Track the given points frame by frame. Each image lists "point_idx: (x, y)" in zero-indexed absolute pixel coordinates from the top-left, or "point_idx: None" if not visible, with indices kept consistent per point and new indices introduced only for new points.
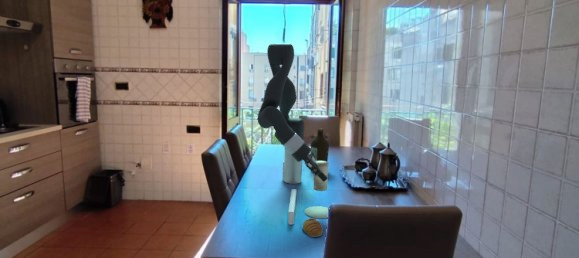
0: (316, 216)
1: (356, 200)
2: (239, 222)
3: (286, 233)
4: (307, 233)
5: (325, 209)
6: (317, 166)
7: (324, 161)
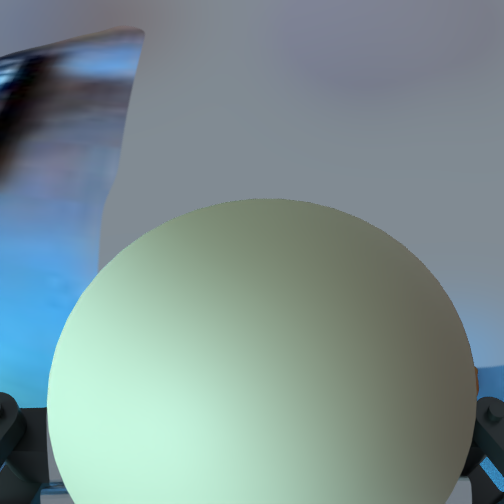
0: None
1: (70, 183)
2: None
3: None
4: None
5: None
6: (460, 479)
7: (125, 310)
